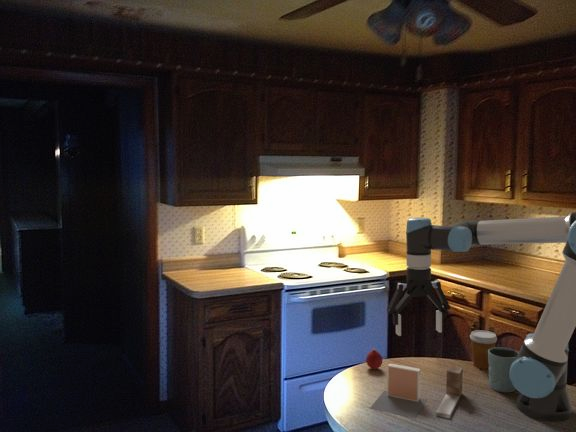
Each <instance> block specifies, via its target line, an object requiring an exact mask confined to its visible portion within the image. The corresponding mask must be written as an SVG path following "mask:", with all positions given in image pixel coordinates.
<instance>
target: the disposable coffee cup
mask: <svg viewBox="0 0 576 432" xmlns="http://www.w3.org/2000/svg"><path fill="white" fill-rule="evenodd" d="M469 338H470V342H471V343H470V344H471V353H472V364H473V366H474V367H475V368H478V369H483V370H484V369H485V370H489V362H488V361H489V360H488V359H489V358H488V350H489V349H490V348H494V347H496V344H497V341H498V337H497V335H496V333H495V332H492V331H488V330H480V329H475V330H473V331H471V332H470V334H469Z"/></svg>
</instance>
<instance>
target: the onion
mask: <svg viewBox="0 0 576 432" xmlns="http://www.w3.org/2000/svg"><path fill="white" fill-rule="evenodd" d="M365 362H366V364H367V366H368V367H369V368H370V369H371V370H373V371H375V370H378V369H379V368H380V367H381V366H382V365H383V356H382V355H381V353H380V352H378V351H377V350H376V349H375V348H372V349H371V351H370V352H368V354H367V355H366V357H365Z"/></svg>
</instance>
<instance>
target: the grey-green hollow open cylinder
mask: <svg viewBox="0 0 576 432" xmlns="http://www.w3.org/2000/svg"><path fill="white" fill-rule="evenodd" d="M518 354H519V350H518V351H517V350H515V349H512V348H509V347H501V346H500V347H497V346H495V347H494V348H490V349H489V350H488V358H489V359H488V360H489V361H488V362H489V368H488V385H489V386H488V387H489V388H490V389H492V390H494V391H497V392H500V393H512V392H515V391H516V390H517V389H516V388H515V387H514V386H513V384H512V382H511V380H510V375H509V371H510V367H511V364H512V363H513V362H514V361H515V360H516V358H517V356H518Z"/></svg>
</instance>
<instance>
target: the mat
mask: <svg viewBox="0 0 576 432" xmlns="http://www.w3.org/2000/svg"><path fill="white" fill-rule="evenodd" d="M427 400H428V399H425V398H423V397H420V400H419V401H418V402H416V401H412V400H407V399H402V398H397V397H392V396H387V390H383V392H382V393H381V394H380V395H379V396H378V397H377V399H376V400H375V401H374V402H373V403H372V405H371V406H370V407H369V409H372V410H376V411H380V412H385V413H388V414H394V415H399V416H403V417H407V418H413V419H416V418H417V416H418V415H419V413H420V411H421V409H422V408H423V406H424V405H425V404H426V402H427Z"/></svg>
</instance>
